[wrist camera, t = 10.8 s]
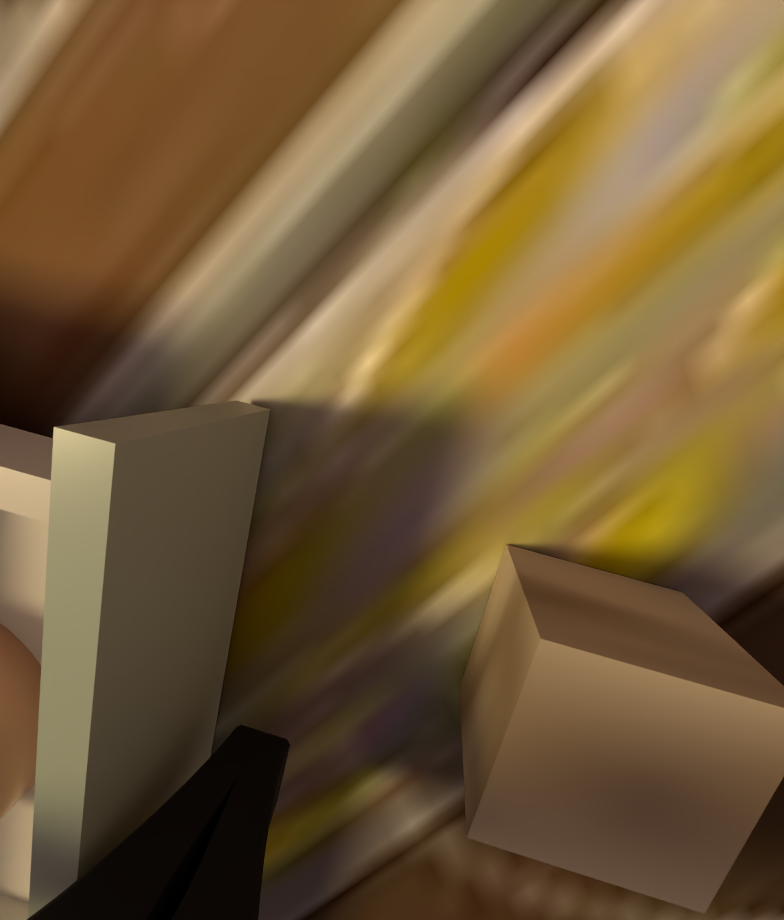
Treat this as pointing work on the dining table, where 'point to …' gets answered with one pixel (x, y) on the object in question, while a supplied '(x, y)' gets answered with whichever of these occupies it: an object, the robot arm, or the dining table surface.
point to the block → (615, 730)
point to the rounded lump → (17, 719)
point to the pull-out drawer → (119, 620)
